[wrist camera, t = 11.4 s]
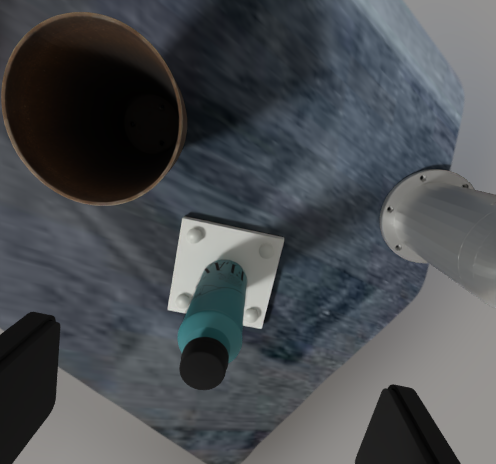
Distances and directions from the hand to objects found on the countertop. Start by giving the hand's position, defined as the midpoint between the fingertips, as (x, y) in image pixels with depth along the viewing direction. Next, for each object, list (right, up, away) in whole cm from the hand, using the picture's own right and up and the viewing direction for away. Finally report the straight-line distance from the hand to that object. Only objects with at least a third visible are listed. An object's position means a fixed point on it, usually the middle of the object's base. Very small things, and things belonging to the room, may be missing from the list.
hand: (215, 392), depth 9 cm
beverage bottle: (-2, -2, +37) cm, 37 cm away
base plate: (-2, -1, +38) cm, 38 cm away
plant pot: (-11, +18, +33) cm, 40 cm away
